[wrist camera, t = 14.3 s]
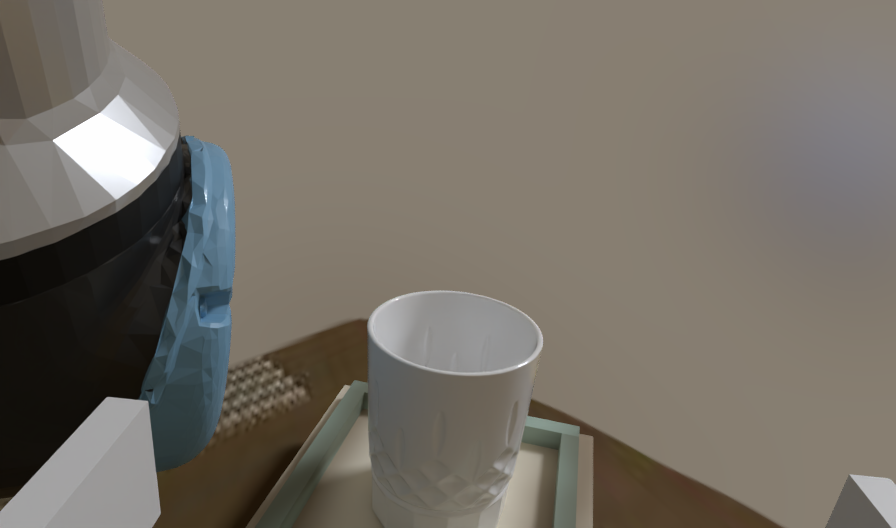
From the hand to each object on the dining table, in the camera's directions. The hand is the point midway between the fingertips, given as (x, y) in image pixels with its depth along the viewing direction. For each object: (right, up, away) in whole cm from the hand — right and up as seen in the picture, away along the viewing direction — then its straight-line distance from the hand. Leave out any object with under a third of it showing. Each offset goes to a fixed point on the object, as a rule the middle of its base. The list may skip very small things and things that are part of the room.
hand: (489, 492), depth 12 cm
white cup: (-1, -8, +20) cm, 21 cm away
